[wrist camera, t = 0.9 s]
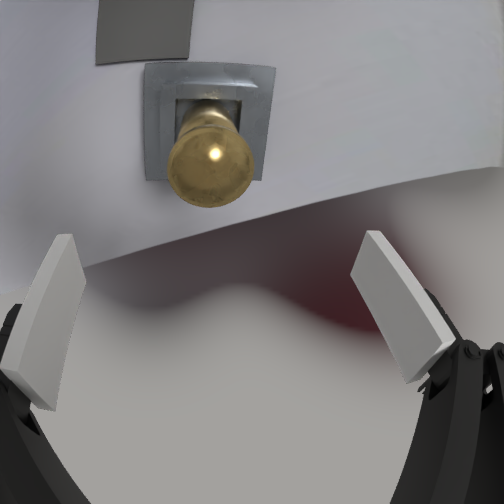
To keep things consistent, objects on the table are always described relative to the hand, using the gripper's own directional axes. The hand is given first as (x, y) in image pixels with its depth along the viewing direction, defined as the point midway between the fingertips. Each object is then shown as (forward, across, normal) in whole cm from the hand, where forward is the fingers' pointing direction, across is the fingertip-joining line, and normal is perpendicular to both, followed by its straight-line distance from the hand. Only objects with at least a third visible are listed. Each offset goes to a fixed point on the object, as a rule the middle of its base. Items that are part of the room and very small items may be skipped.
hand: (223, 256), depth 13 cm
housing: (+26, 0, 0) cm, 26 cm away
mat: (+26, -8, +13) cm, 30 cm away
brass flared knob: (+23, 0, 0) cm, 23 cm away
